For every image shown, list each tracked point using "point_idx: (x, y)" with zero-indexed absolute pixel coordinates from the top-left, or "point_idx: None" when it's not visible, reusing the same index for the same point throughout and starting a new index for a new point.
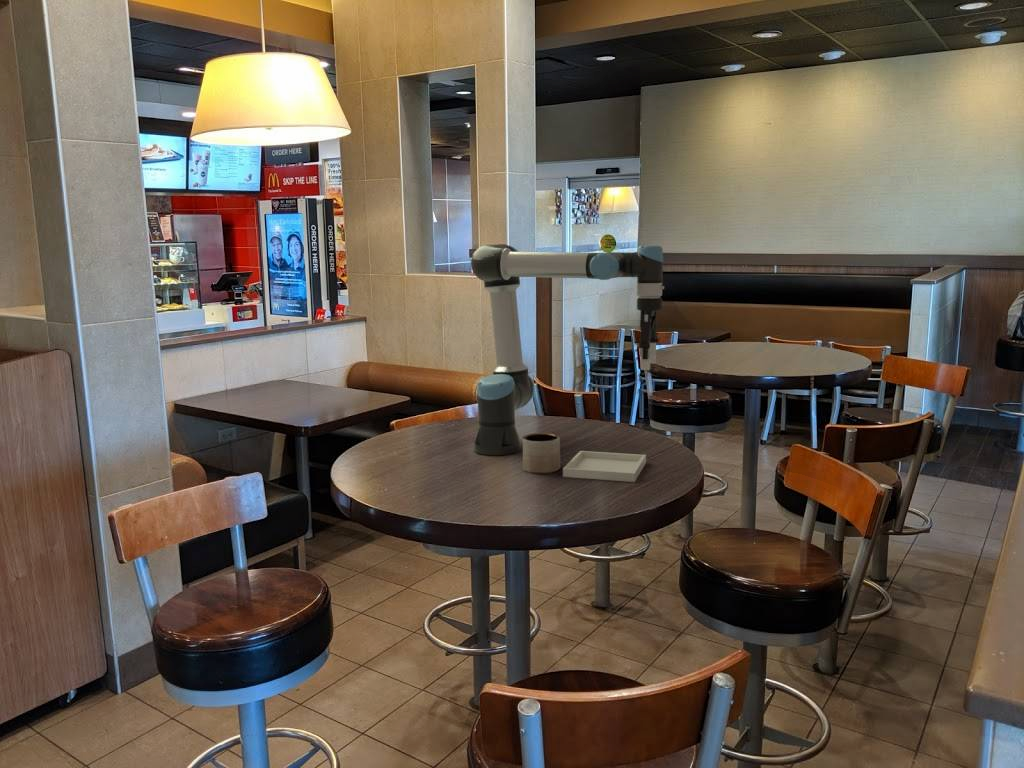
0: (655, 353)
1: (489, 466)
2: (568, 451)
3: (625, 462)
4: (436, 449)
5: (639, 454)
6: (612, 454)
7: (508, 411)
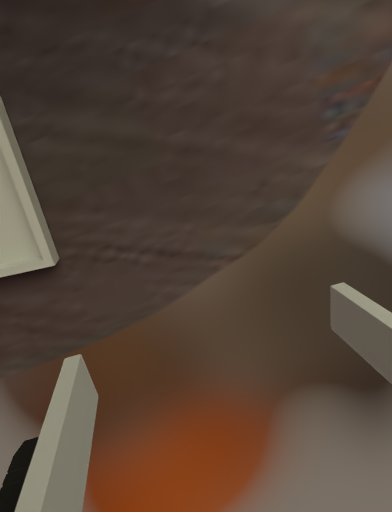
0: (374, 366)
1: None
2: (51, 15)
3: (15, 224)
4: None
5: (49, 250)
6: (16, 186)
7: None
